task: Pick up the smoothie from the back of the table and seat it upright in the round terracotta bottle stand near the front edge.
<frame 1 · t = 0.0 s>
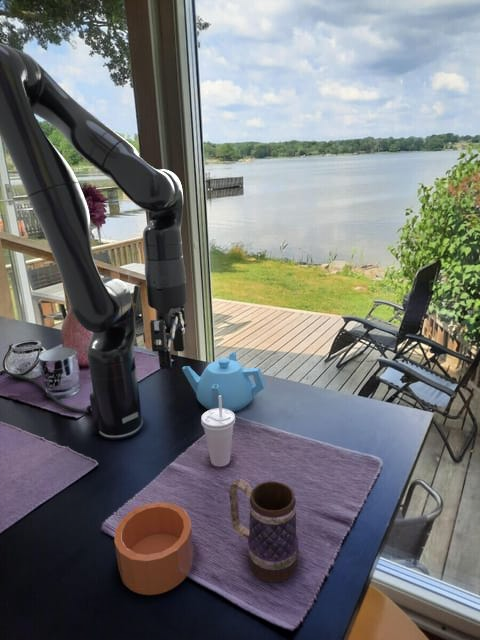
hand: (172, 359, 89), 17 cm above the table, tool pointing down, fingers open, 8 cm apart
bottle stand: (157, 562, 63), on the table
smoothie: (220, 461, 85), on the table
mug: (263, 558, 63), on the table
teapot: (224, 400, 107), on the table
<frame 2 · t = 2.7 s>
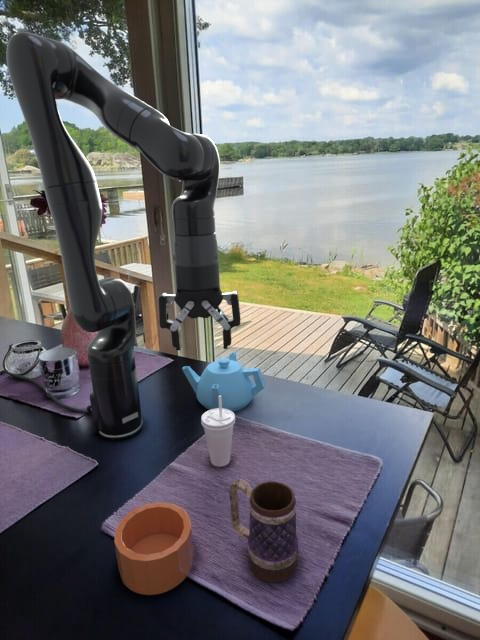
hand: (202, 348, 80), 22 cm above the table, tool pointing down, fingers open, 8 cm apart
nothing on the table moved.
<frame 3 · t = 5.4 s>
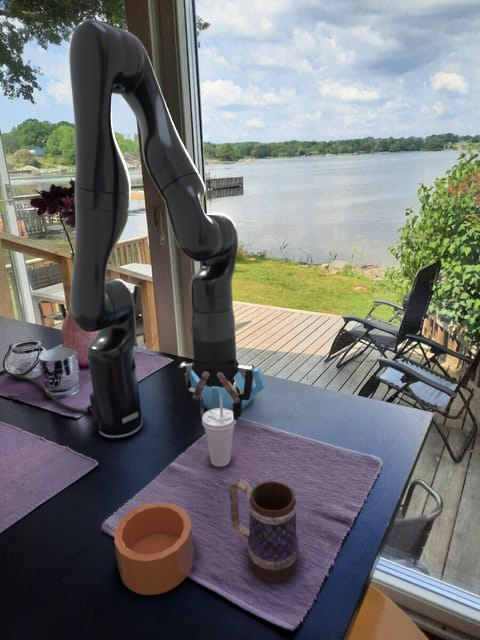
hand: (218, 416, 82), 10 cm above the table, tool pointing down, fingers closed on smoothie, 6 cm apart
smoothie: (220, 461, 85), on the table, touching gripper
everything else where it was.
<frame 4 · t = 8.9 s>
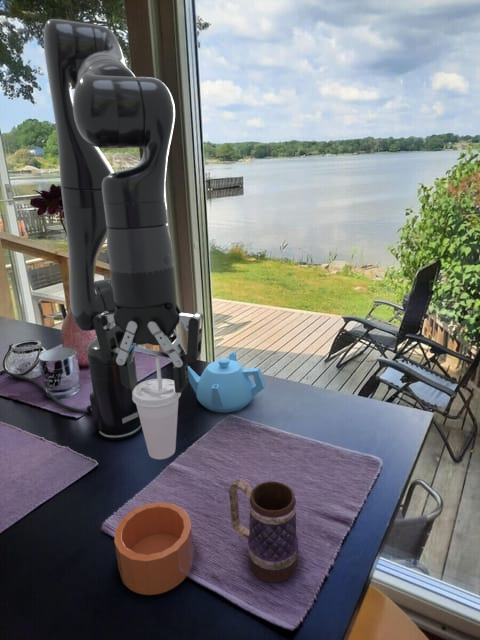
hand: (155, 388, 58), 26 cm above the table, tool pointing down, fingers closed on smoothie, 6 cm apart
smoothie: (162, 452, 61), point 16 cm above the table, touching gripper
everything else where it was.
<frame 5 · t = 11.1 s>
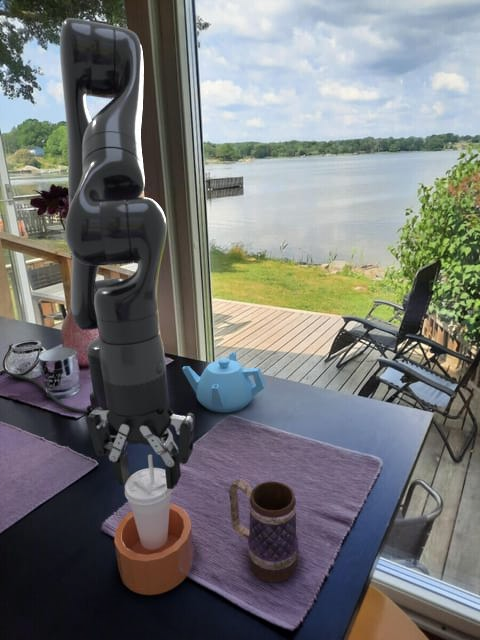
hand: (147, 482, 59), 14 cm above the table, tool pointing down, fingers closed on smoothie, 6 cm apart
smoothie: (154, 540, 62), point 4 cm above the table, touching gripper
everything else where it was.
when the fingers open (11 cm above the table, at t = 12.7 s): smoothie stays where it is, resting on bottle stand.
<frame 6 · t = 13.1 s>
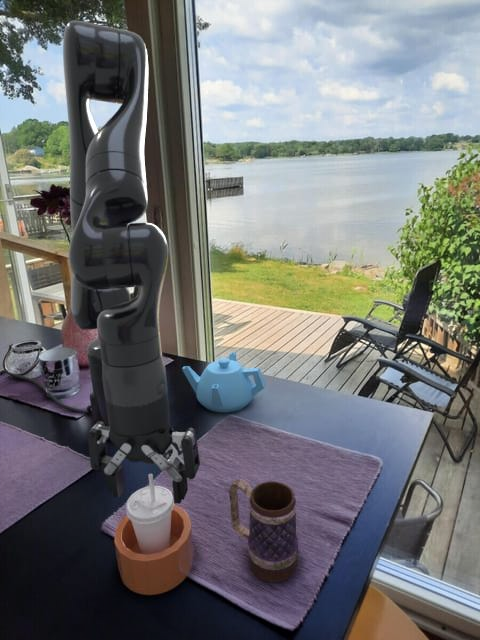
hand: (149, 496, 59), 12 cm above the table, tool pointing down, fingers open, 8 cm apart
smoothie: (156, 556, 63), point 1 cm above the table, touching bottle stand
everything else where it was.
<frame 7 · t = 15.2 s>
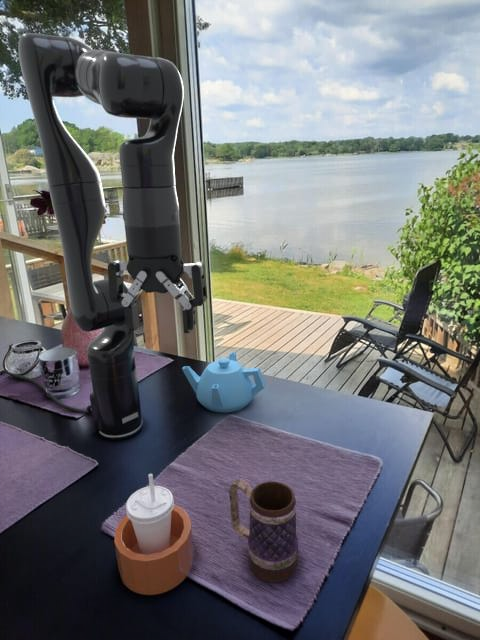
hand: (161, 330, 66), 30 cm above the table, tool pointing down, fingers open, 8 cm apart
nothing on the table moved.
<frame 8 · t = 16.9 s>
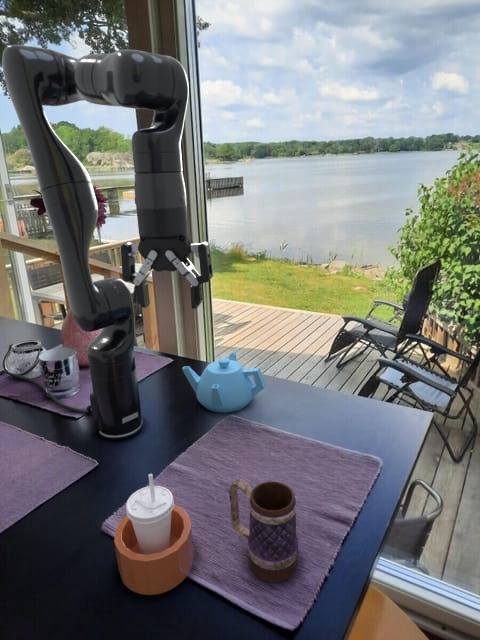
hand: (170, 306, 72), 32 cm above the table, tool pointing down, fingers open, 8 cm apart
nothing on the table moved.
at the end: smoothie 0.1 cm off-centre in the bottle stand, point 0.8 cm above the bottle stand's base; smoothie tilted 0°; the gripper is holding nothing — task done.
